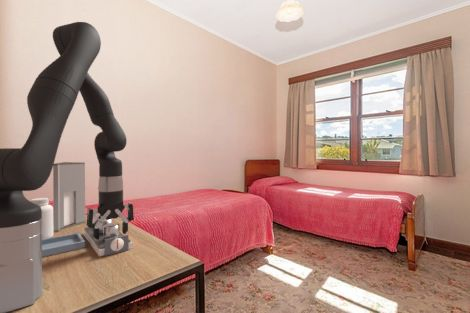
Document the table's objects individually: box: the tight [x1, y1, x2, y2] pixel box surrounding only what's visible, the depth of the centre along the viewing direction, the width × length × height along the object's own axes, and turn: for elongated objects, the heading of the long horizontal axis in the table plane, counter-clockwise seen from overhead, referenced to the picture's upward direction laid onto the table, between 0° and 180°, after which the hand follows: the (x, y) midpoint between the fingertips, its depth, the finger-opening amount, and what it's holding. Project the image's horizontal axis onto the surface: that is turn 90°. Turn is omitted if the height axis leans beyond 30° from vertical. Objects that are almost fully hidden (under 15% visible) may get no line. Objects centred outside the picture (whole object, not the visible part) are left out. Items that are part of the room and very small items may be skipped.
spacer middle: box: [98, 218, 113, 235], centre depth 89 cm, size 5×5×5 cm
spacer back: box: [92, 213, 100, 229], centre depth 96 cm, size 5×5×5 cm
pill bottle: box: [29, 197, 55, 239], centre depth 91 cm, size 8×8×15 cm
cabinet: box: [52, 161, 86, 233], centre depth 109 cm, size 21×10×28 cm, turn 25°
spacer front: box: [103, 222, 120, 242], centre depth 83 cm, size 5×5×5 cm
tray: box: [42, 232, 86, 258], centre depth 82 cm, size 12×12×2 cm
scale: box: [82, 226, 133, 257], centre depth 88 cm, size 29×10×5 cm, turn 41°
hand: (111, 236), depth 83 cm, fingers open, 8 cm apart
